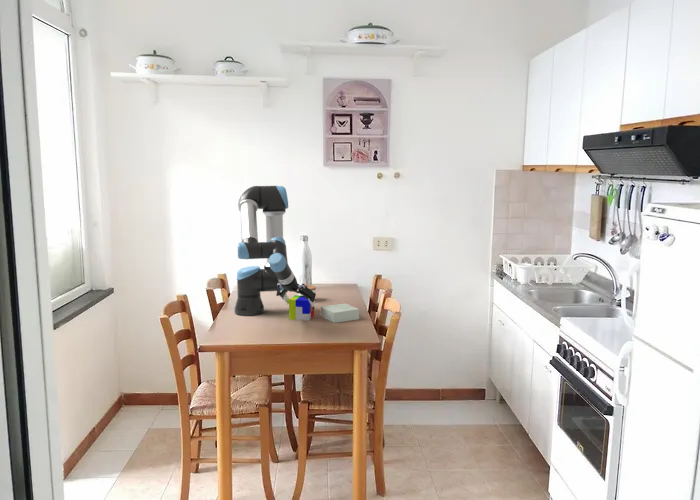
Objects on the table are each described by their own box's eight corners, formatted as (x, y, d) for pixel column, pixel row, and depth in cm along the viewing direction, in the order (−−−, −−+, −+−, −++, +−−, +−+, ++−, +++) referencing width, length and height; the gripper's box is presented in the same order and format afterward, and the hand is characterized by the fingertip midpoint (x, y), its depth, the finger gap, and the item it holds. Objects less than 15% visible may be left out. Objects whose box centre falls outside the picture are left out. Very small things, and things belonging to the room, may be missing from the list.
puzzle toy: (308, 320, 268) (308, 300, 266) (289, 319, 270) (288, 299, 268) (314, 315, 277) (314, 296, 276) (295, 314, 279) (295, 295, 278)
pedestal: (320, 316, 275) (320, 306, 275) (345, 312, 282) (345, 303, 282) (334, 322, 263) (334, 312, 263) (359, 319, 270) (359, 309, 270)
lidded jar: (313, 297, 317) (313, 281, 315) (318, 301, 307) (318, 285, 305) (295, 299, 313) (295, 282, 312) (299, 303, 303) (299, 286, 302)
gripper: (260, 283, 256) (275, 307, 272) (309, 287, 248) (322, 312, 264) (265, 270, 260) (280, 295, 276) (313, 273, 252) (326, 299, 268)
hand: (301, 303), depth 270 cm, fingers open, 13 cm apart
